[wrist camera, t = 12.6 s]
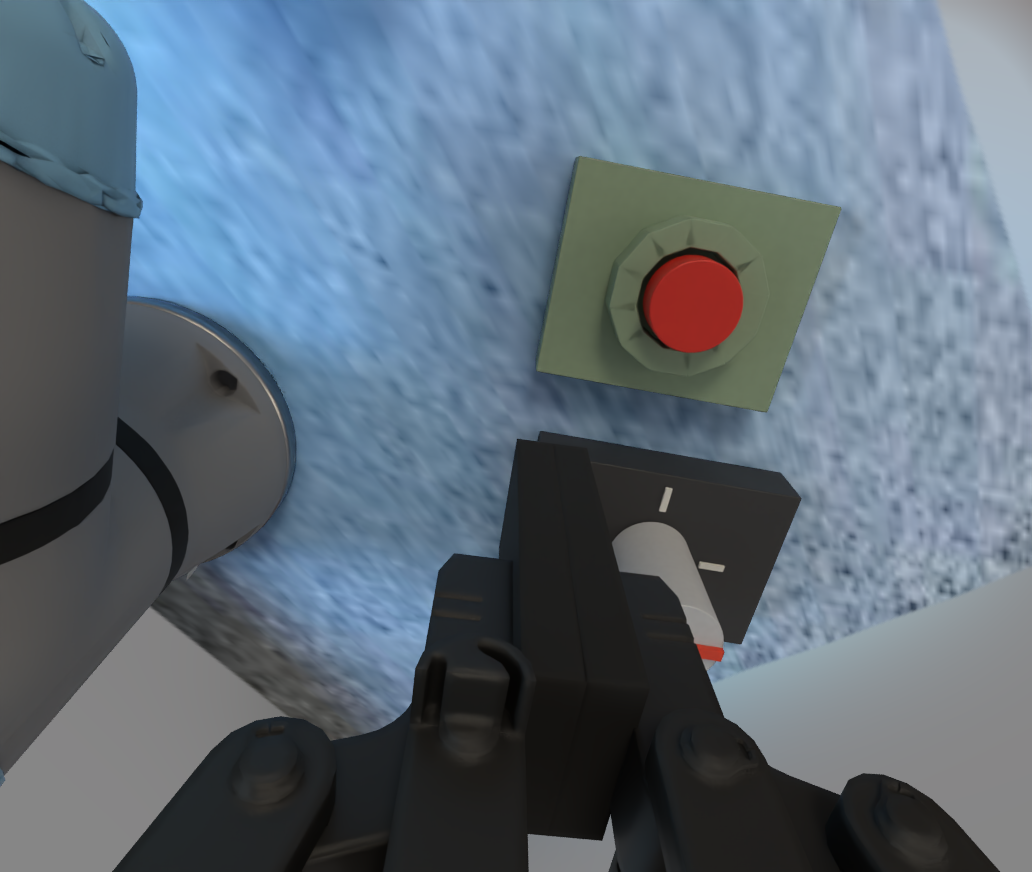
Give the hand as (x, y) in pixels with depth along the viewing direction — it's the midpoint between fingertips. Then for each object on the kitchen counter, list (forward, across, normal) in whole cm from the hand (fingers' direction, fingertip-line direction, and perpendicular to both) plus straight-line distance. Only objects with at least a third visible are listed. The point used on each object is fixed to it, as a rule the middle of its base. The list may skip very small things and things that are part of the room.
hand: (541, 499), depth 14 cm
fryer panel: (+20, +9, -12) cm, 25 cm away
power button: (+16, +7, +2) cm, 18 cm away
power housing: (+20, +7, +2) cm, 21 cm away
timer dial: (+17, +9, -12) cm, 22 cm away
